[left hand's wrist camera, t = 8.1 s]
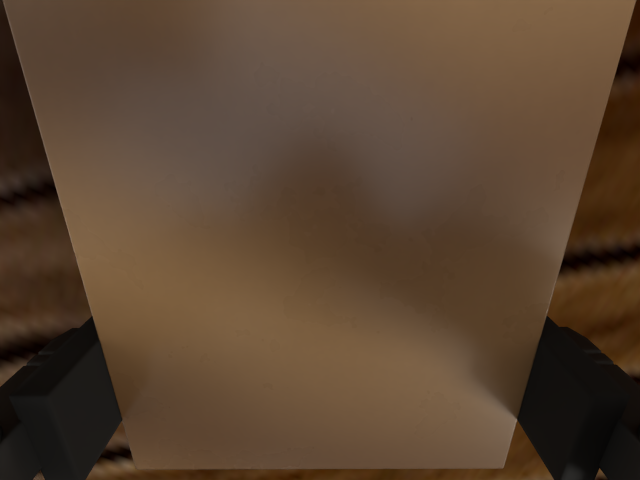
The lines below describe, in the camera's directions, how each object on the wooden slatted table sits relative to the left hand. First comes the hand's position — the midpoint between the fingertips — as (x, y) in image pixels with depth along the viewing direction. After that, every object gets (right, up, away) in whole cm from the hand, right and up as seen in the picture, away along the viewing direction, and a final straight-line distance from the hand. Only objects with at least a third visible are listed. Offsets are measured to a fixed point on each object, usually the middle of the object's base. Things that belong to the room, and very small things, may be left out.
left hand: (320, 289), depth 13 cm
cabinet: (0, +8, +1) cm, 8 cm away
